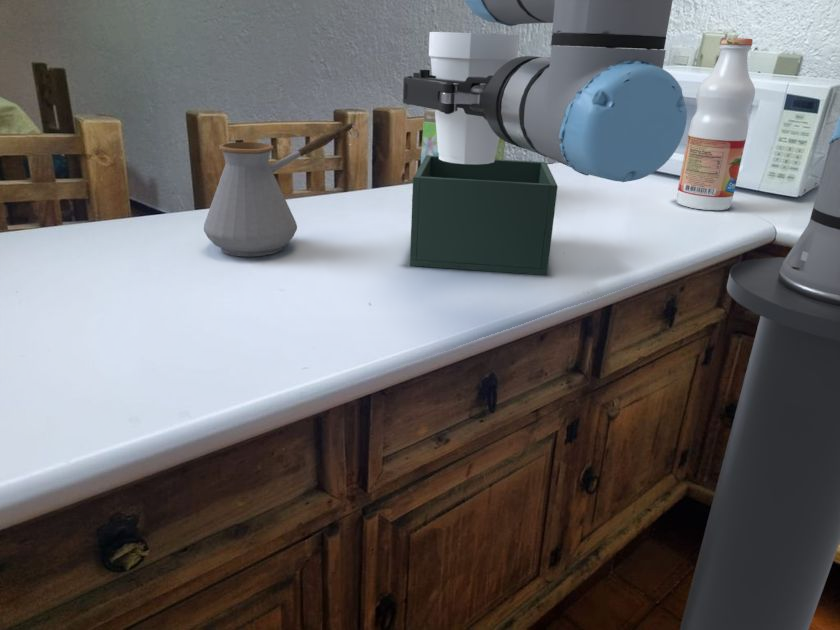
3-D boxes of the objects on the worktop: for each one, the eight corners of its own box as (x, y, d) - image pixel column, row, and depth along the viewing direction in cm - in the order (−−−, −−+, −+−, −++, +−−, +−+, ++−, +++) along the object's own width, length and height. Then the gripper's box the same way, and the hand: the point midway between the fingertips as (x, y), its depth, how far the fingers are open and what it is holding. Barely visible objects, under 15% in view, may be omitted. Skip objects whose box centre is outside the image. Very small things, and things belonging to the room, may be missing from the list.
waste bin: (537, 238, 94) (546, 162, 90) (546, 275, 79) (557, 185, 75) (422, 230, 95) (425, 155, 91) (409, 265, 80) (413, 177, 76)
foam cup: (500, 154, 78) (510, 36, 74) (516, 167, 70) (529, 35, 65) (421, 152, 78) (426, 32, 73) (428, 165, 69) (433, 31, 64)
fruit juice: (669, 198, 124) (699, 37, 113) (720, 201, 123) (755, 39, 113) (682, 209, 115) (716, 36, 105) (738, 212, 115) (777, 39, 104)
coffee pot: (226, 267, 77) (216, 135, 71) (192, 243, 85) (180, 123, 79) (378, 242, 89) (380, 128, 83) (335, 223, 97) (334, 118, 92)
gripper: (411, 151, 54) (363, 119, 74) (648, 150, 59) (543, 121, 79) (414, 52, 51) (363, 47, 71) (663, 61, 56) (551, 54, 76)
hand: (458, 86), depth 75 cm, fingers closed on foam cup, 9 cm apart
